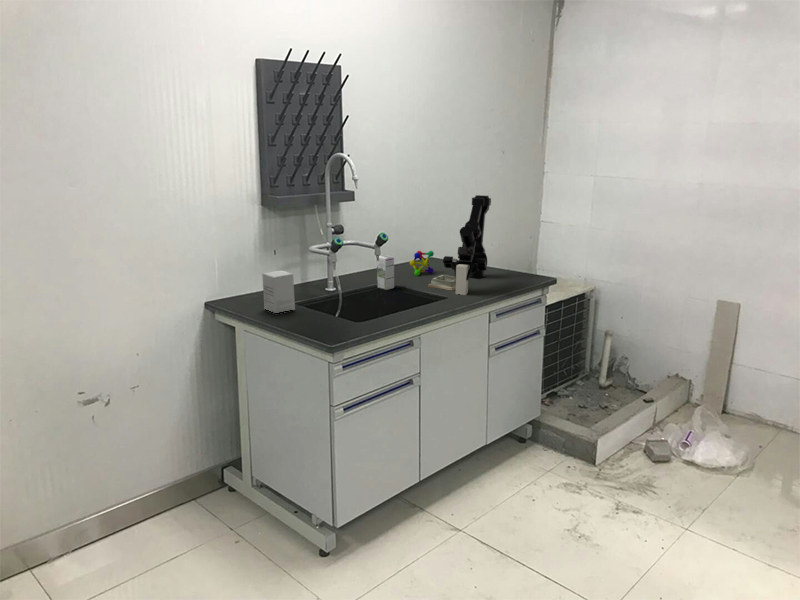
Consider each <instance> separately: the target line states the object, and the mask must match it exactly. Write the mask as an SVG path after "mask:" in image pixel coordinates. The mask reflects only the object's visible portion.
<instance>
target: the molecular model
mask: <svg viewBox="0 0 800 600" xmlns="http://www.w3.org/2000/svg"><path fill="white" fill-rule="evenodd" d="M434 254H435V253H434V251H433V250H429V251H428V252H422V251H421V250H418V251H416V252H415V253H414V256H413V257H414V258H413V259H411V260H410V261H409V265H410V266H411V267H412V268H413V269H414V272H413V274H414V276H416V277H418V276H420V274H421V273H422V272H426V273H428V274H433V273H434V268H433V267H431V265H430V264H429V262H430V261H429V259H430V258H431V257H433V256H434ZM425 255H427V257H424V256H425ZM417 259H419V260H420V261H417ZM417 265H421V266H419V267H418V266H417ZM424 267H426V268H427V269H423V268H424Z"/></svg>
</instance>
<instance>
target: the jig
mask: <svg viewBox="0 0 800 600" xmlns="http://www.w3.org/2000/svg"><path fill="white" fill-rule="evenodd" d="M430 281H431V283H429V284H427V286H428V287H429V288H435V289H442V290H446V291H447V290H448V291H455V290H456V279H455V275H454V276H453V275H448V274H441V275H439V276H436V277H433V278H431V279H430Z"/></svg>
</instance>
